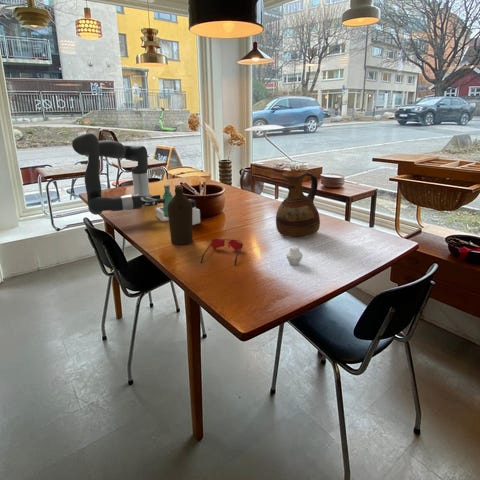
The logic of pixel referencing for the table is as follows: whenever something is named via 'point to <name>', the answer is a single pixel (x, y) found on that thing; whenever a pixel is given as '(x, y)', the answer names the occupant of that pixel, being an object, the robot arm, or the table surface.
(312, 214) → the ceramic pitcher
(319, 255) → the table surface
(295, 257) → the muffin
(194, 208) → the medicine bottle
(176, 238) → the olive oil
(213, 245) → the glasses
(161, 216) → the cream U-rest
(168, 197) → the green bottle
